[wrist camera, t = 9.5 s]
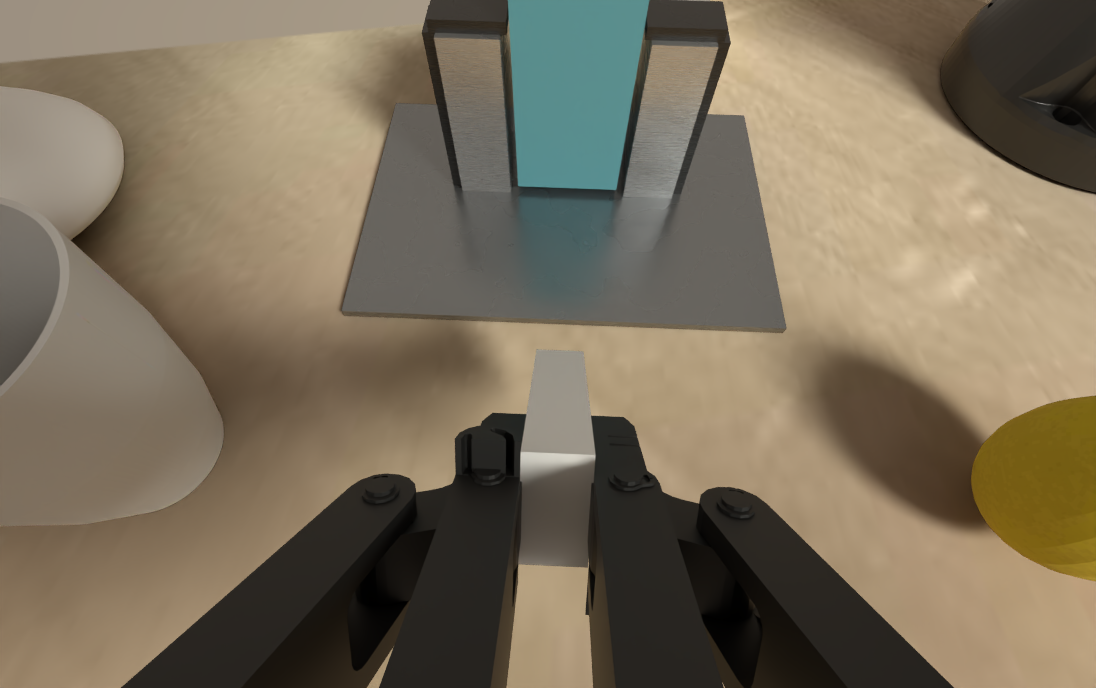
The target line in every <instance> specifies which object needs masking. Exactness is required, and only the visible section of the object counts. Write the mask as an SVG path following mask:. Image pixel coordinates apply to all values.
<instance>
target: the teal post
mask: <svg viewBox="0 0 1096 688" xmlns="http://www.w3.org/2000/svg"><path fill="white" fill-rule="evenodd" d="M648 5H649V0H508V12H509V30H510V48H511V66H512V84H513V102H514V120H515V138H516V156H517V173H518V186H525V187H552V188H578V189H605V190H616V188H617V183H618V177H619V171H620V166H621V160H622V154H623V148H624V143H625V137H626V131H627V125H628V120H629V114H630V108H631V102H632V97H633V91H634V85H635V79H636V74H637V68H638V62H639V57H640V51H641V45H642V39H643V34H644V28H645V22H646V16H647V11H648Z"/></svg>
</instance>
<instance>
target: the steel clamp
mask: <svg viewBox="0 0 1096 688" xmlns="http://www.w3.org/2000/svg"><path fill="white" fill-rule="evenodd" d="M422 35H423V40H424V45H425V50H426V54H427V59H428V64H429V69H430V74H431V79H432V84H433V88H434V93H435V98H436V103H437V105H433V104H405V103H396V105H395V109H394V113H393V117H392V120H391V124H390V128H389V132H388V136H387V139H386V143H385V147H384V151H383V155H382V158H381V162H380V166H379V170H378V174H377V177H376V181H375V185H374V189H373V193H372V196H371V200H370V204H369V208H368V211H367V215H366V219H365V223H364V227H363V230H362V234H361V238H360V242H359V246H358V249H357V253H356V257H355V261H354V265H353V268H352V272H351V276H350V280H349V284H348V287H347V291H346V295H345V299H344V303H343V306H342V310H341V311H342V313H343V314H344V315H345V316H370V317H395V318H421V319H446V320H471V321H496V322H521V323H546V324H571V325H597V326H622V327H647V328H672V329H697V330H722V331H747V332H772V333H783V332H784V331H785V330H786V324H785V319H784V314H783V309H782V304H781V299H780V294H779V289H778V284H777V278H776V273H775V268H774V263H773V258H772V253H771V248H770V243H769V238H768V233H767V228H766V223H765V218H764V213H763V208H762V203H761V198H760V193H759V188H758V183H757V178H756V173H755V168H754V163H753V158H752V153H751V148H750V143H749V138H748V133H747V128H746V123H745V118H744V116H741V115H713V114H707V113H708V110H709V107H710V104H711V101H712V98H713V95H714V92H715V89H716V86H717V83H718V80H719V77H720V74H721V71H722V68H723V65H724V62H725V59H726V56H727V53H728V50H729V47H730V44H731V42H730V37H729V32H728V26H727V21H726V16H725V11H724V6H723V2H719V1H710V0H649V5H648V11H647V16H646V22H645V28H644V34H643V39H642V45H641V51H640V57H639V62H638V68H637V74H636V79H635V85H634V91H633V97H632V102H631V108H630V114H629V120H628V125H627V131H626V137H625V143H624V148H623V154H622V160H621V166H620V171H619V177H618V183H617V188H616V190H605V189H578V188H552V187H525V186H518V173H517V156H516V138H515V120H514V102H513V84H512V66H511V48H510V30H509V12H508V0H431V1H430V5H429V6H428V10H427V14H426V18H425V22H424V26H423V30H422Z"/></svg>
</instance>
